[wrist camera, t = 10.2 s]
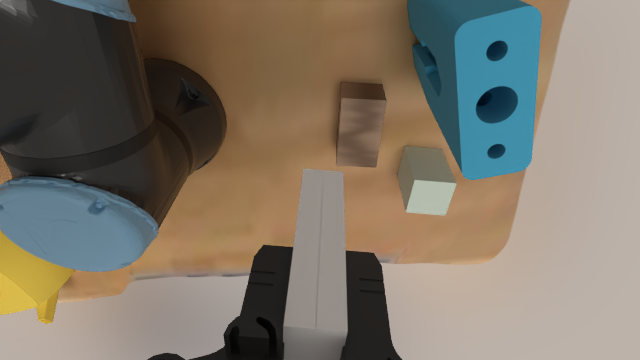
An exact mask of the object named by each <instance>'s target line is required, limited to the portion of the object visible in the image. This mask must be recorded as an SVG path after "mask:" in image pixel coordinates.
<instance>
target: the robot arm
mask: <svg viewBox="0 0 640 360" xmlns="http://www.w3.org/2000/svg"><path fill="white" fill-rule="evenodd" d="M135 22H137V21H136V17H135V16H134V14H132V13H131V9H130V6H129V2H128V0H0V152H1V154H2V156H3V158H4V160H5V162H6V164H7V166H8V167H9V169H10V171H11V174H12V180H8V181H6V182H5V183H3V184H2V185H0V230H1V232H2V233H3V234H4V235H5V236H6V237H7V238H8V239H10V240H11V241H12V242H13V243H15V244H16V245H17V246H19V247H20V248H22V249H23V250H25V251H27V252H28V253H30V254H32V255H34V256H36V257H38V258H41V259H43V260H46V261H48V262H50V263H53V264H56V265H59V266H62V267H66V268H70V269H75V270H81V271H91V272H105V271H113V270H117V269H121V268H123V267H126V266H128V265H130V264H131V263H132V262H134V261H136V260H137V259H138V258H139V257H140V256H141V255H142V254H143V253H144V251H145V250H146V249H147V247H148V246H149V245H150V243H151V242H152V241H153V240H154V239H155V238H156V236H157V234H158V230H159V227H160V226H161V224H162V222H163V220H164V218H165V217H166V215H167V213H168V211H169V209H170V208H171V206H172V204H173V202H174V200H175V199H176V197H177V195H178V193H179V191H180V190H181V188H182V186H183V184H184V182H185V181H186V179H187V177H188V176H189V175H190V174H192V173H193V172H194V171H195V170H198V169H200V168H201V167H203V166H205V165H206V164H207V163H209V162H210V161H211V160H212V159H213V158H214V156H215V155H216V154H217V152H218V150H219V149H220V147H221V145H222V143H223V140H224V137H225V134H226V116H225V112H224V109H223V106H222V104H221V101H220V99H219V98H218V96H217V94H216V93H215V91H214V90H213V89H212V88H211V86H210V85H209V84H208V83H207V82H206V81H205V80H204V79H203V78H201V77H200V76H199V75H198V74H196V73H195V72H193V71H192V70H190V69H188V68H187V67H185V66H183V65H180V64H178V63H175V62H172V61H168V60H163V59H144V60H143V58H142V53H141V49H140V44H139V40H138V36H137V31H136V27H135ZM224 342H225V346H224V347H223V348H221V349H220V350H218V351H217V352H215V353H212V354H209V355H206V356H202V357H198V358H194V359H190V360H402V359H401V358H400V357H399V355H398V354H397V353H396V351H395V349H394V347H393V344H392V340H391V335H390V328H389V319H388V312H387V304H386V296H385V289H384V283H383V273H382V266H381V264H380V262H379V261H378V259H377V258H376V256H375V254H374V253H369V252H357V251H345V215H344V179H343V172H339V171H327V170H315V169H303V177H302V185H301V193H300V201H299V208H298V216H297V224H296V232H295V239H294V247H284V246H271V245H263V246H262V248H261V249H260V250H259V251H258V253H257V254H256V255H255V256H254V260H253V264H252V268H251V273H250V276H249V281H248V285H247V289H246V293H245V297H244V302H243V305H242V310H241V314H240V316H238V317H236V318H235V319H234V320H233V321H232V322H231V323H230V324H229V325H228V327H227V329H226V331H225V333H224ZM148 360H185V359H184V358H182V357H180V356H179V355H177V354H170V353H163V354H159V355H155V356H153V357H151V358H149V359H148Z"/></svg>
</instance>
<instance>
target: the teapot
mask: <svg viewBox="0 0 640 360" xmlns="http://www.w3.org/2000/svg"><path fill="white" fill-rule="evenodd" d="M74 271H75V269H70V268H66V267H62V266H59V265H56V264H53V263H50V262H48V261H46V260H43V259H41V258H38V257H36V256H34V255H32V254H30V253H28V252H27V251H25V250H23V249H22V248H20V247H19V246H17V245H16V244H15V243H13V242H12V241H11V240H10V239H8V238H7V237H6V236H5V235H4V234H3V233H2V232H1V230H0V315H3V314H9V313H14V312H19V311H23V310H27V309H31V308H35V307H36V308H37V313H38V321H41V322H43V323H45V324H48V323H52V322H53V318H54V312H55V307H56V302H57V297H58V292H59V289H60V287H61V286H62V285H63V284H64V283H65V282H66V281H67V280H68V279H69V278H70V276H71V275H72V274H73V273H74Z"/></svg>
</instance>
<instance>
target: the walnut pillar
mask: <svg viewBox="0 0 640 360" xmlns="http://www.w3.org/2000/svg"><path fill="white" fill-rule="evenodd" d="M385 107H386V97H385V93H384V90H383V86H382V84H367V83H348V82H341V91H340V104H339V117H338V131H337V144H336V165H338V166H357V167H376V165H377V159H378V152H379V146H380V139H381V133H382V126H383V120H384V113H385Z"/></svg>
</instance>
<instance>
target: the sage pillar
mask: <svg viewBox="0 0 640 360" xmlns="http://www.w3.org/2000/svg"><path fill="white" fill-rule="evenodd" d="M397 177H398V181H399V185H400V190H401V194H402V198H403V202H404V207H405V211H406V212H410V213H422V214H434V215H446V212H447V209H448V206H449V204H450V201H451V198H452V195H453V193H454V190H455V187H456V184H457V183H456V181H455V178H454V176H453V174H452V172H451V169H450V167H449V165H448V163H447V161H446V158H445V156H444V154H443V152H442V149H437V148H425V147H414V146H404V150H403V154H402V158H401V163H400V167H399V171H398V175H397Z"/></svg>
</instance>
